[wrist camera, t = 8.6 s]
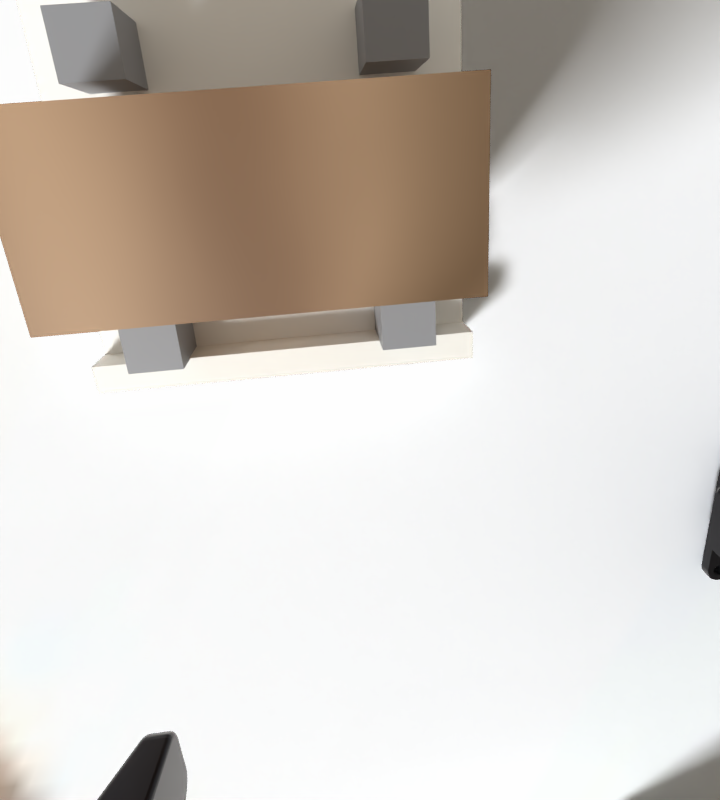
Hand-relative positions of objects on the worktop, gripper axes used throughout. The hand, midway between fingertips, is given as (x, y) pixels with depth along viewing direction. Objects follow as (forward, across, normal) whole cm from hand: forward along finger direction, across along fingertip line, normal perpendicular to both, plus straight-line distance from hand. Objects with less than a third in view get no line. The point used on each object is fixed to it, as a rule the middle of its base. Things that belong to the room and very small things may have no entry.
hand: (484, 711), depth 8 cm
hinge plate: (+12, +3, -7) cm, 15 cm away
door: (+11, +3, -7) cm, 14 cm away
